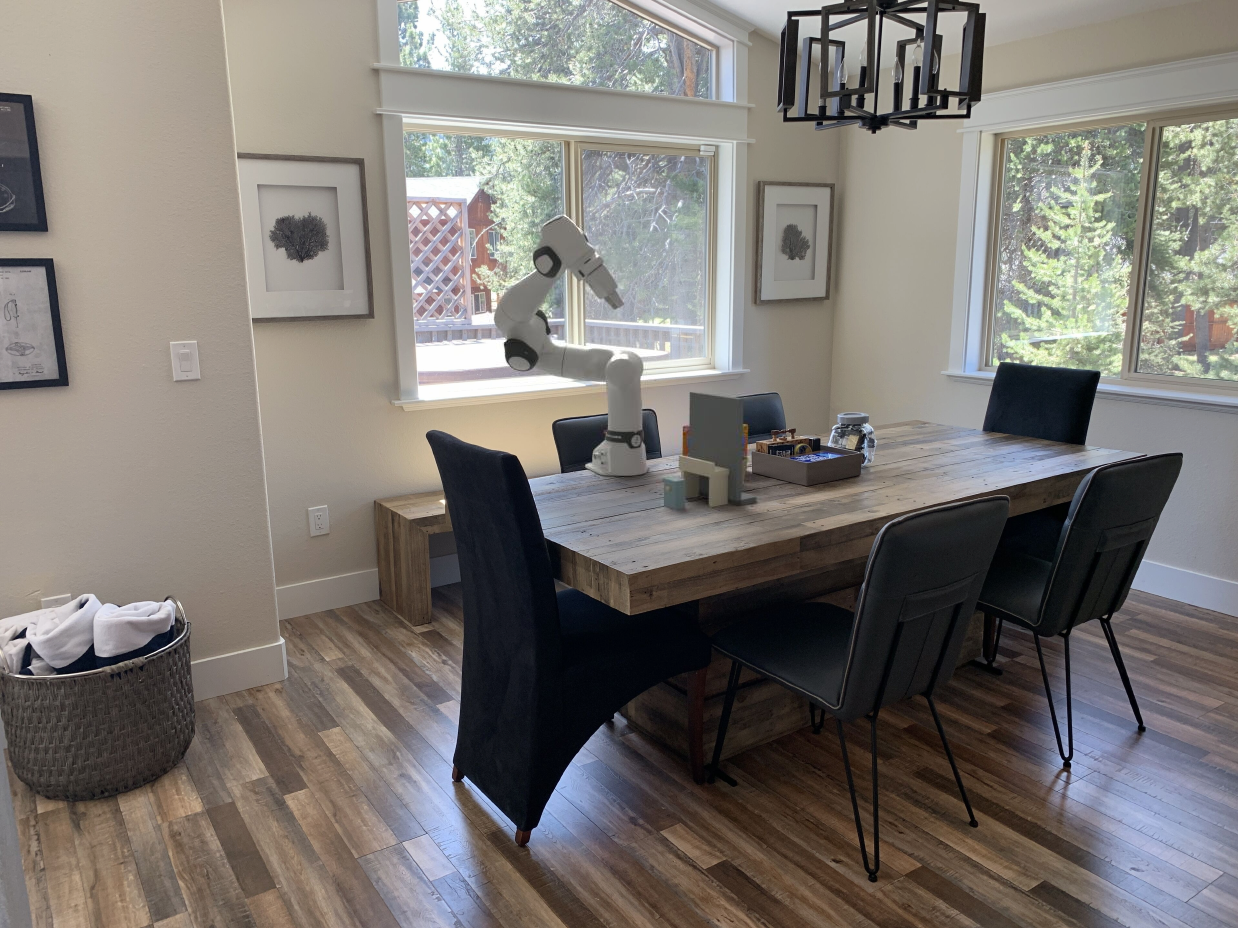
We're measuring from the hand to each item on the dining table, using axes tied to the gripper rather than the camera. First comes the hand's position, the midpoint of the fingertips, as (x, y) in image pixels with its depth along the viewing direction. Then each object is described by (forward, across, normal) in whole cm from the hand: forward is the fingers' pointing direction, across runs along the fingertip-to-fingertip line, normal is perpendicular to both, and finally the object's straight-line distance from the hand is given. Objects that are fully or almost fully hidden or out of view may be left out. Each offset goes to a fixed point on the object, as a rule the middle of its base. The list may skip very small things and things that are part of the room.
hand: (619, 307), depth 250 cm
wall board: (+60, -1, -12) cm, 61 cm away
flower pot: (+64, -17, -4) cm, 67 cm away
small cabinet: (+52, +6, -23) cm, 57 cm away
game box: (+63, -37, -3) cm, 73 cm away
